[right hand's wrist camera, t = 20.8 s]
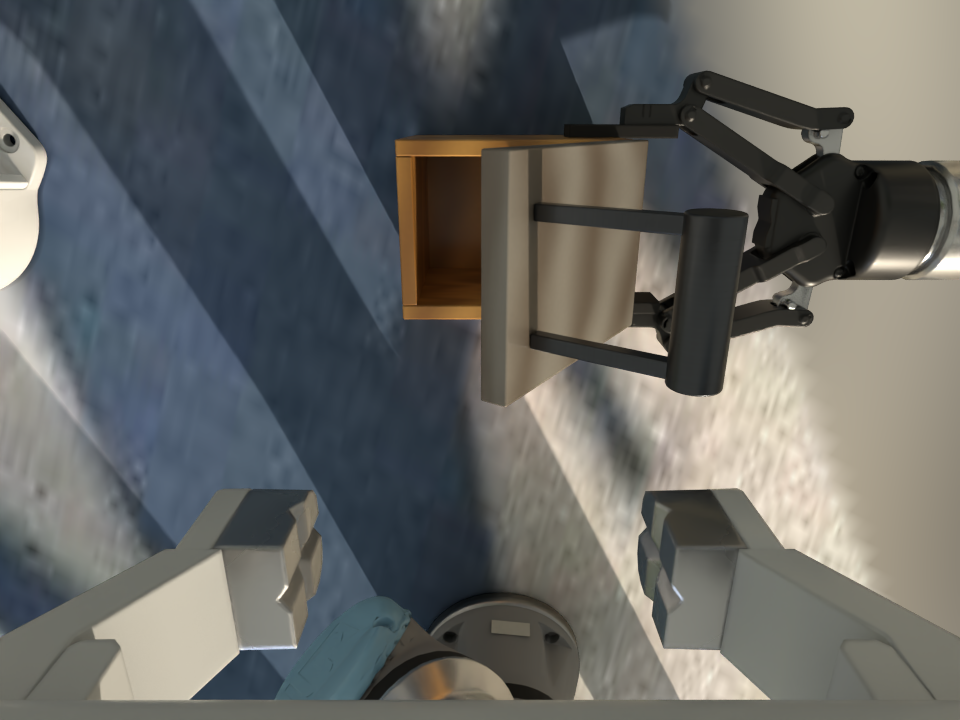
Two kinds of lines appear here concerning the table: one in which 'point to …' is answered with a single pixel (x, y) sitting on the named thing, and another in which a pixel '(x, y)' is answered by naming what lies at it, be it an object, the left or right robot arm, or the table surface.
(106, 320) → the table surface
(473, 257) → the chest
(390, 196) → the table surface
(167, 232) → the table surface
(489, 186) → the lid
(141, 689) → the right robot arm
